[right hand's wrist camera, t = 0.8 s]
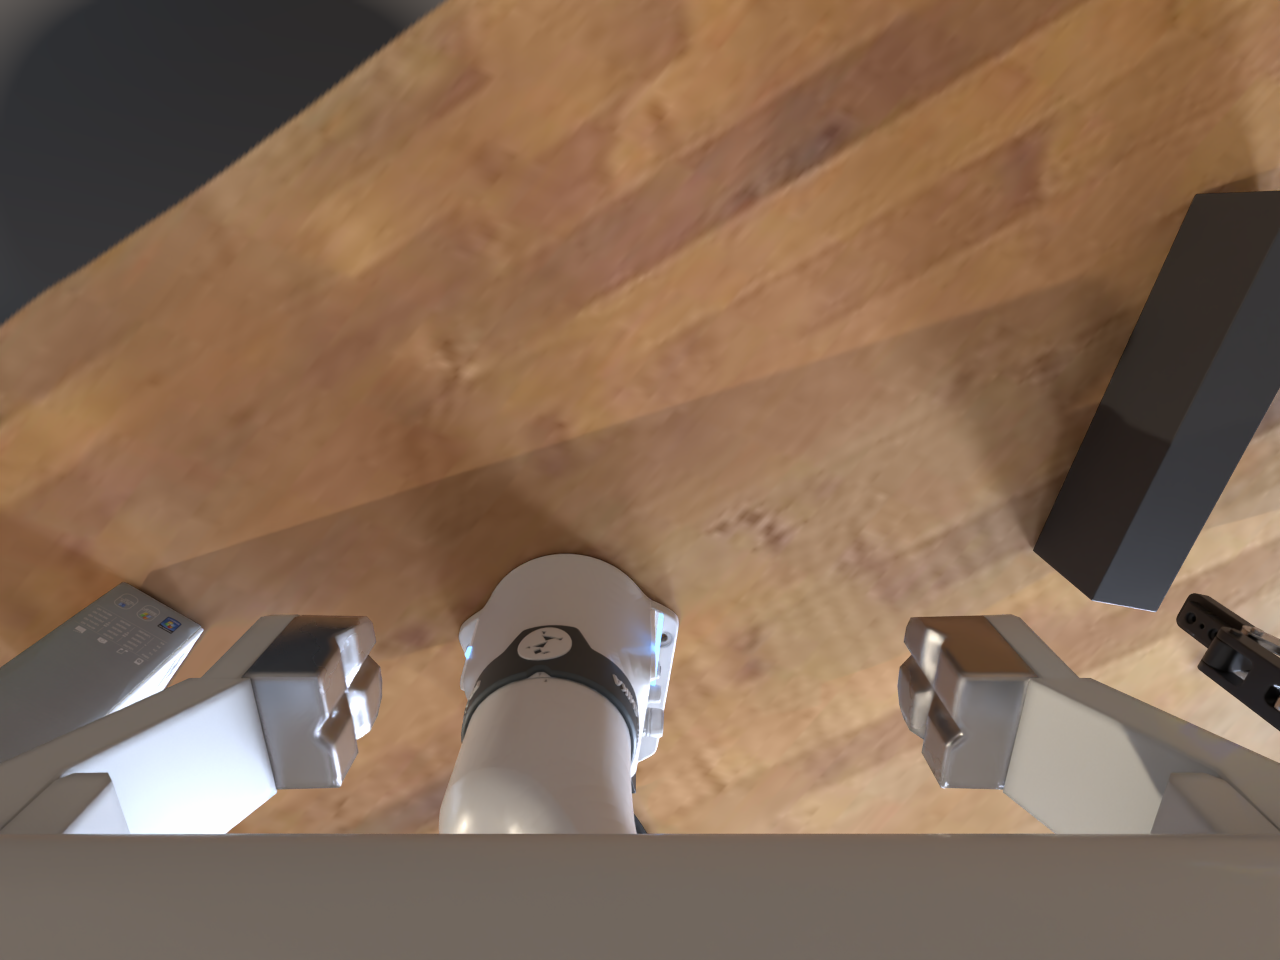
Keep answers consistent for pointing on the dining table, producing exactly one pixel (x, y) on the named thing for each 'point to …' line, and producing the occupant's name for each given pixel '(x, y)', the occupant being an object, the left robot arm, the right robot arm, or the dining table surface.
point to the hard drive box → (91, 667)
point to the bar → (1175, 407)
